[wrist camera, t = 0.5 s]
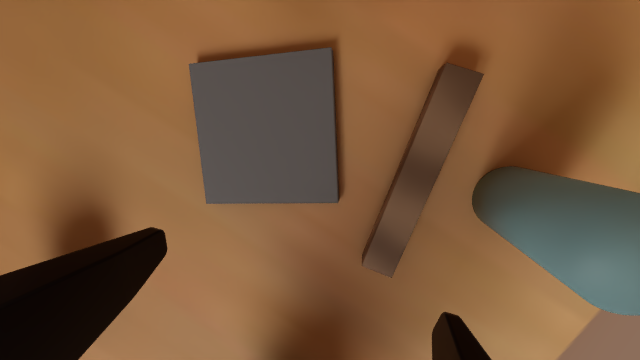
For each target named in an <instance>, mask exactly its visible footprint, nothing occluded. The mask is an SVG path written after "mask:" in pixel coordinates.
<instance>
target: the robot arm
mask: <svg viewBox="0 0 640 360" xmlns="http://www.w3.org/2000/svg"><path fill="white" fill-rule="evenodd" d="M166 253H167V243H166V237H165V232H164V231H163V230H161V229H157V228H154V227H150V228H147V229H144V230H140V231H137V232H134V233H131V234H128V235H125V236H122V237H119V238H116V239H112V240H109V241H106V242H103V243H100V244H97V245H94V246H91V247H88V248H84V249H81V250H78V251H75V252H72V253H69V254H66V255H63V256H60V257H56V258H53V259H50V260H47V261H44V262H41V263H38V264H35V265H32V266H28V267H25V268H22V269H19V270H16V271H13V272H10V273H7V274H4V275H0V360H78V359H79V358H80V357H81V356H82V355H83V354H84V353H85V352H86V350H87V349H88V348H89V347H90V346H91V345H92V344H93V343H94V341H95V340H96V339H97V338H98V337H99V336H100V335H101V334H102V332H103V331H104V330H105V329H106V328H107V327H108V326H109V325H110V324H111V322H112V321H113V320H114V319H115V318H116V317H117V316H118V315H119V313H120V312H121V311H122V310H123V309H124V308H125V307H126V306H127V305H128V303H129V302H130V301H131V300H132V299H133V298H134V296H135V295H136V294H137V293H138V291H139V290H140V289H141V287H142V286H143V285H144V283H145V282H146V281H147V279H148V278H149V277H150V275H151V274H152V273H153V271H154V270H155V269H156V267H157V266H158V265H159V263H160V262H161V261H162V259H163V258H164V257H165V255H166ZM432 360H491V358H490V357H489V356H488V354H487V353H486V352H485V350H484V349H483V347H482V346H481V345H480V343H479V342H478V341H477V339H476V338H475V337H474V335H473V334H472V333H471V331H470V330H469V328H468V327H467V326H466V324H465V323H464V322H463V320H462V319H461V318H460V317H459V316H457V315H454V314H451V313H448V312H443V313H442V314H441V316H440V317H439V319H438V321H437V323H436V325H435V327H434V329H433V332H432Z"/></svg>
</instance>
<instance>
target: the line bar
mask: <svg viewBox="0 0 640 360" xmlns="http://www.w3.org/2000/svg"><path fill="white" fill-rule="evenodd" d="M483 75H484V74H482V73H479V72H476V71H472V70H469V69H466V68H463V67H459V66H456V65H453V64H449V63H446V64H445V65H444V66H442V67H441V68H440V69H439V71H438V73H437V75H436V78H435V80H434V83H433V85H432V88H431V90H430V92H429V95H428V97H427V100H426V102H425V104H424V107H423V109H422V112H421V114H420V117H419V119H418V121H417V124H416V126H415V129H414V131H413V133H412V136H411V138H410V141H409V143H408V146H407V148H406V150H405V153H404V155H403V158H402V160H401V162H400V165H399V167H398V170H397V172H396V175H395V177H394V179H393V182H392V184H391V187H390V189H389V191H388V194H387V196H386V199H385V201H384V204H383V206H382V208H381V211H380V213H379V216H378V218H377V220H376V223H375V225H374V228H373V230H372V232H371V235H370V237H369V240H368V242H367V245H366V247H365V249H364V252H363V254H362V266H363V267H366V268H368V269H371V270H373V271H376V272H378V273H381V274H383V275H385V276H388V277H390V278H392V276H393V274H394V272H395V269H396V267H397V265H398V263H399V261H400V258H401V256H402V254H403V252H404V250H405V247H406V245H407V243H408V241H409V239H410V236H411V234H412V232H413V230H414V228H415V225H416V223H417V221H418V219H419V216H420V214H421V212H422V210H423V208H424V205H425V203H426V201H427V199H428V197H429V194H430V192H431V190H432V188H433V186H434V183H435V181H436V179H437V177H438V175H439V172H440V170H441V168H442V166H443V163H444V161H445V159H446V157H447V155H448V152H449V150H450V148H451V146H452V144H453V141H454V139H455V137H456V135H457V133H458V130H459V128H460V126H461V124H462V122H463V119H464V117H465V115H466V113H467V110H468V108H469V106H470V104H471V102H472V99H473V97H474V95H475V93H476V91H477V88H478V86H479V84H480V82H481V80H482V77H483Z"/></svg>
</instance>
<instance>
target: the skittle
mask: <svg viewBox="0 0 640 360" xmlns="http://www.w3.org/2000/svg"><path fill="white" fill-rule="evenodd" d="M472 205H473V209H474V211H475V213H476V215H477V216H478V218H479V219H480V220H481V221H482V222H484V223H485V224H486V225H487V226H489V227H490V228H491V229H493V230H494V231H495V232H497V233H498V234H499V235H501V236H502V237H503V238H504V239H506V240H507V241H508V242H510V243H511V244H512V245H514V246H515V247H516V248H518V249H519V250H520V251H522V252H523V253H524V254H526V255H527V256H528V257H529V258H531V259H532V260H533V261H535V262H536V263H537V264H539V265H540V266H541V267H543V268H544V269H545V270H547V271H548V272H549V273H551V274H552V275H553V276H554V277H556V278H557V279H558V280H560V281H561V282H562V283H564V284H565V285H566V286H568V287H569V288H570V289H572V290H573V291H574V292H575V293H577V294H578V295H579V296H581V297H582V298H583V299H585V300H586V301H587V302H589V303H591V304H592V305H594V306H596V307H598V308H600V309H602V310H605V311H609V312H612V313H617V314H622V315H640V193H636V192H632V191H627V190H622V189H618V188H613V187H608V186H604V185H599V184H595V183H590V182H585V181H581V180H576V179H571V178H567V177H562V176H557V175H553V174H548V173H543V172H539V171H534V170H529V169H525V168H520V167H512V166H509V167H502V168H498V169H495V170H493V171H491V172H489V173H487V174H486V175H485V176H484V177H483V178H482V179H481V180H480V181H479V182H478V183H477V185H476V187H475V189H474V191H473V196H472Z"/></svg>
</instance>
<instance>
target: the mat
mask: <svg viewBox="0 0 640 360" xmlns="http://www.w3.org/2000/svg"><path fill="white" fill-rule="evenodd" d="M189 69H190V77H191V85H192V93H193V101H194V109H195V117H196V125H197V133H198V141H199V149H200V157H201V165H202V173H203V181H204V189H205V197H206V204H226V203H338V201H339V185H338V160H337V136H336V112H335V87H334V63H333V50H332V48H331V47H330V48H321V49H313V50H304V51H296V52H287V53H278V54H270V55H261V56H253V57H244V58H236V59H227V60H218V61H210V62H201V63H193V64H189Z"/></svg>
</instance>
